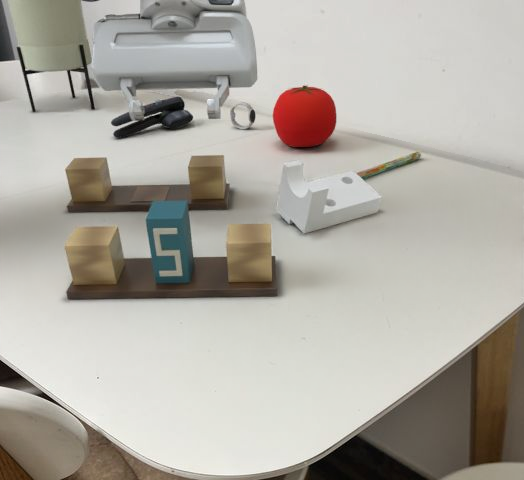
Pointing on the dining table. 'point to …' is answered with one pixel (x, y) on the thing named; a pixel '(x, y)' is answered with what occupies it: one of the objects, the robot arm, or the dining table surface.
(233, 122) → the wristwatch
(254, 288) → the board
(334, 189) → the bracket
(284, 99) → the tomato
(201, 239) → the dining table surface
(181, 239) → the letter S tile
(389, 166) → the pencil
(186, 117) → the can opener
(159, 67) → the robot arm
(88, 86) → the planter
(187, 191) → the board
